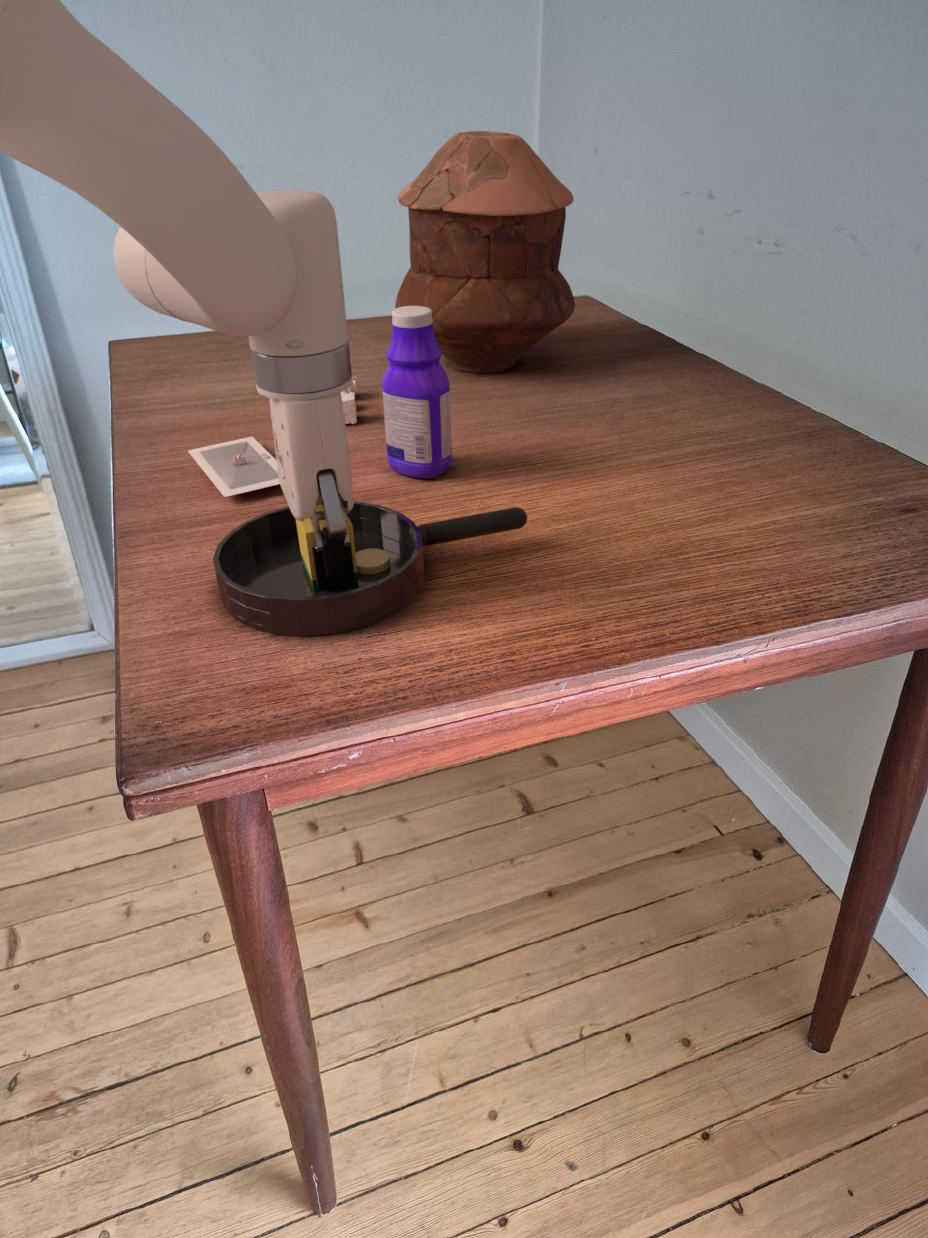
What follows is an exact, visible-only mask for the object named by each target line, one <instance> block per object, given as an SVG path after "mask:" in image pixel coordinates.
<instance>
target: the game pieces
mask: <svg viewBox="0 0 928 1238" xmlns="http://www.w3.org/2000/svg"><path fill="white" fill-rule="evenodd" d="M352 379H353V383H352V385H351V386H350V387H349V388H348V389H346V390H345V391H343V392H341V398H342V405H343V412H344V417H345V425H347V424H351V425H355V424H357V423H358V419H357V417H358V411H357V408H358V407H357V405H356V394H357V393H358V392H357V390H358V381H357V380H358V378H357V376H352Z"/></svg>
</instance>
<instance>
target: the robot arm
mask: <svg viewBox="0 0 928 1238" xmlns="http://www.w3.org/2000/svg"><path fill="white" fill-rule="evenodd" d="M0 152H2V153H3V154H5V155H6V156H8V157H9V158H12V159H13V160H16V161H17V162H19V163H21V164H23V165H25V166H27V167H29V168H31V169H32V170H34V171H37V172H39V173H40V174H41V175H42V174H43V175H44V176H46V177H48V178H50V179H51V180H54V181H56V182H58V183H59V184H61V185H62V186H64V187H66V188H68V189H69V190H71V191H72V192H74V193H75V194H77V195H78V196H80V197H81V198H82V199H84V200H86V201H87V202H89V203H90V204H91V205H93V207H95V208H97V209H98V210H99V211H100V212H102V213H103V214H105V215H106V216H107V217H109V218H110V219H111V220H112V221H113V222H114V223H116V224H117V225H118V226H119V229H118V231H117V233H116V234H115V239H114V242H113V247H112V259H113V265H114V268H115V272H116V274H117V276H118V279H119V280H120V282H121V284H122V286H123V288H125V289H126V291H127V293H128V294H130V296H132V297H133V298H134V299H135V300H136V301H138V302H139V303H140V304H141V305H143V306H144V307H146V308H148V309H150V310H152V311H155V312H157V313H159V314H161V315H164V316H168V317H171V318H174V319H177V320H179V321H182V322H186V323H191V324H195V325H198V326H200V327H202V328H203V327H204V328H207V329H210V330H213V331H215V332H219V333H222V334H225V335H229V336H231V337H232V336H233V337H245V338H246V337H248V342H249V348H250V351H249V352H250V356H251V362H252V368H253V369H252V370H253V376H254V381H255V386H256V391H257V393H258V394H259V395H260V396H262V397H264V398H266V399H269V411H270V420H271V426H272V435H273V442H274V443H273V444H274V450H275V451H274V452H275V459H276V460H277V469H278V477H279V482H280V484H279V485H280V488H281V491H282V494H283V496H284V498H285V501H286V503H287V506H288V507H289V508H290V510H291V512H292V514H293V516H294V517H295V518H296V519H297V520H299V521H304V519H306V518H310V519H311V524H312V530H313V535H314V541H315V547H312V551H313V558H314V565H315V573H316V580H317V585H318V588H319V589H320V590H326V589H331V588H336V587H342V586H347V585H351V584H353V583H354V582H355V576H354V567H353V558H352V549H351V542H350V540H349V534H348V529H347V523H346V517H345V512H346V513H349V512H350V511H351V510H352V508H353V502H354V487H353V478H352V468H351V466H352V465H351V458H350V450H349V443H348V435H347V428H346V424H345V417H344V412H343V405H342V398H341V392H343V391H345V390H346V389H348V388H349V387H350V386H351V385H352V383H353V379H352V377H353V372H352V371H353V370H352V363H351V352H350V351H351V350H350V342H349V334H348V325H347V313H346V312H347V311H346V302H345V293H344V283H343V272H342V263H341V261H342V260H341V252H340V251H341V250H340V242H339V232H338V231H339V230H338V223H337V217H336V212H335V208H334V207H333V205H332V204H333V203H332V202H331V201H330V200H329V199H328V197H326V196H325V195H323V194H322V193H319V192H316V191H312V190H304V189H303V190H302V189H279V190H268V191H261V192H260V191H259V192H256V191H255V189H253V187H252V186H251V185H250V183H249V182H248V181H247V179H246V178H245V177H244V176H243V174H242V173H241V172H240V170H239V169H238V168H237V166H236V165H235V164H234V163H233V162H232V161H231V159H230V158H229V157H228V155H226V153H225V152H224V151H223V150H222V149H221V147H220V146H219V145H217V143H216V142H215V141H214V140H213V139H212V138H211V137H210V136H209V135H208V134H207V133H206V132H205V131H204V130H203V129H202V128H201V126H199V125H198V124H197V123H196V122H195V121H194V120H193V119H192V118H190V116H188V115H187V114H186V113H185V112H184V111H183V110H182V109H181V108H180V107H179V106H177V105H176V104H175V103H174V102H172V101H171V100H170V99H169V98H168V97H167V96H166V95H164V93H162V92H161V91H160V90H158V89H157V88H156V87H155V86H154V85H152V84H151V83H150V82H149V81H148V80H147V79H146V78H145V77H144V76H142V75H141V74H140V73H139V72H138V71H137V70H136V69H134V68H133V67H132V66H131V65H130V64H129V63H128V62H127V61H126V60H124V58H122V57H121V56H120V55H119V54H118V53H116V52H115V51H114V50H113V49H111V47H109V46H108V45H106V44H105V43H103V41H102V40H100V39H98V38H97V37H96V36H95V35H94V34H93V33H91V32H90V31H89V30H88V29H87V28H86V27H85V26H84V25H83V24H81V22H80V21H79V20H78V19H77V18H76V17H75V16H74V15H73V14H72V12H71V11H70V10H69V9H68V8H67V7H66V6H65V5H64V3H63V2H62V1H61V0H0ZM316 505H323V509H324V511H319V512H315V506H316ZM344 510H345V511H344ZM324 519H326V527H325V528H322V532H321V530H320V524H319V520H324Z"/></svg>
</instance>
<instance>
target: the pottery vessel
mask: <svg viewBox="0 0 928 1238" xmlns="http://www.w3.org/2000/svg"><path fill="white" fill-rule="evenodd" d="M396 198H397V201H398V203H399V204H400V205H401V206H403V207H406V208H408V209H407V211H408V212H407V213H408V222H409V223H408V225H409V260H410V261H409V262H410V268H409V269H408V270H407V272H406V274H405V276H404V278H403V280H402V282H401V284H400V287H399V289H398V292H397V295H396V299H395V306H394V309H396V308H399V307H404V306H423V307H427V308H430V309H431V310H432V321H433V332H434V336H435V340H436V342H437V344H438V346H439V348H440V349H441V351H442V355H441V356H442V357H444V358H445V359H446V360H447V362H448V363H449V365H450V366H451V367H452V368H453V369H455V370H458V371H462V372H466V373H471V374H472V373H473V374H485V373H497V372H502V371H506V370H508V369H510V368H512V367H514V366H515V365H516V364H517V361H518V358H519V357H521V355H523V354H524V353H525V352H526V351H527V350H529V349H531V348H532V347H533V346H534V345H536V344H537V343H538V342H539V341H541V340H542V339H544V338H545V336H547V335H549V334H550V333H551V332H553V331H554V330H556V329H557V328H559V327H560V326H561V325H563V324H564V323H566V322H567V321H568V320H569V319H570V318H571V316H572V315H573V314H574V311H575V310H576V302H575V297H574V294H573V291H572V289H571V286H570V283H569V282H568V281H567V279H566V278H565V275H563V274H562V272H561V271H560V269H559V265H560V260H561V254H562V246H563V240H564V233H565V225H566V218H567V212H566V211H567V210H566V209H567V208H566V207H569V206H571V205H572V204H573V202H574V200H575V199H574V195H573V193H572V192H571V191H570V189H569V188H568V187H566V185H564V183H562V182H561V181H560V180H559V179H558V178H557V176H556V175H555V174H554V173H553V172H552V171H551V169H549V167H548V166H547V165H546V163H545V162H544V161H543V160H542V159H541V157H539V155H538V154H537V153H536V152H535V150H534V149H533V148H532V147H531V146H530V144H529V143H528V142H527V141H525V139H524V138H522V137H521V136H520V135H517V134H514V133H509V132H498V131H486V130H475V131H474V130H473V131H471V130H470V131H462V132H457V133H455V134H454V135H453V136H452V137H450V138H449V139H447V141H446V142H445V143H444V144H443V145H441V146H440V147H439V148H438V150H437V151H436V152H435V153H434V154H433V156H432V157H431V159H430V161H428V163H427V165H426V166H425V167H424V168H423V169H422V171H421V172H420V173H419V174H418V175H417V176H416V177H415V178H414V179H413V180H412V181H411V182H410V183H409V184H407V185H406V186H404V187H403V188H402V189H401V190H400V191H399V192H398V194H397V197H396Z"/></svg>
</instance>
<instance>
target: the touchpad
mask: <svg viewBox="0 0 928 1238" xmlns="http://www.w3.org/2000/svg"><path fill="white" fill-rule="evenodd" d="M186 452H187V453H188V454H189V455H190V456H191V458H192V459H193V460H194V461H195V462H196V464H197V465H198V466H199V467H200V468H201V470H202V471H203V473H205V475H206V476H207V477H208V478H209V481H211V483H212V484H213V486H215V487H216V488H217V490H218V491H219V493H220V494H221V495H222V497H224V498H227V497H232V496H236V495H240V494H245V493H249V492H253V491H257V490H261V489H265V488H269V487H274V486H278V485H280V482H279V477H278V469H277V460H276V457H274V456H273V455H272V454H271V453H270V452H268V450H267V449H266V448H265V447H263V445H262V444H261V443H260V442H259V441H258V440H257V439H255V437H254V436H249V437H248V436H247V437H244V438H238V439H233V440H230V441H224V442H221V443H215V444H211V445H206V446H202V447H197V448H192V449H188V450H186Z"/></svg>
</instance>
